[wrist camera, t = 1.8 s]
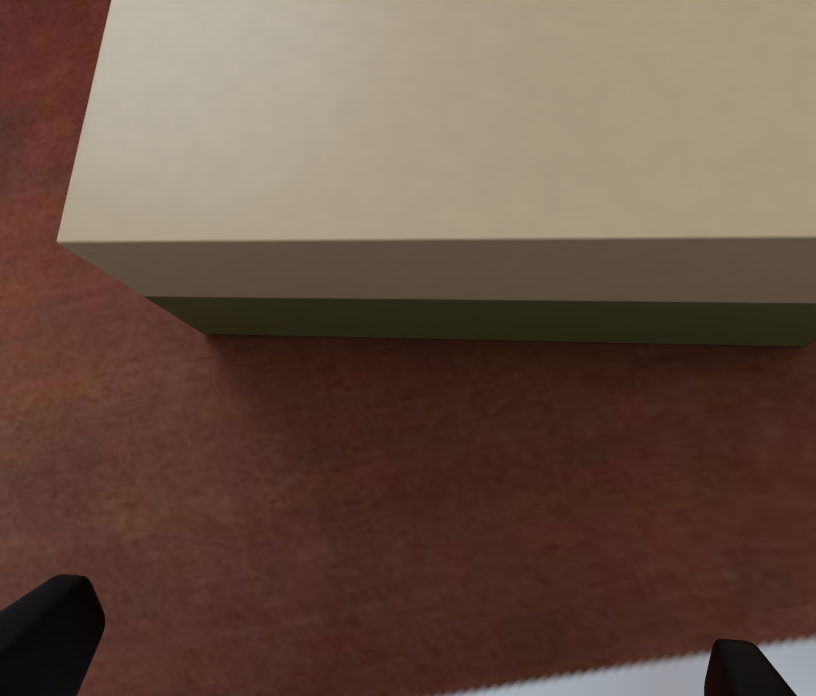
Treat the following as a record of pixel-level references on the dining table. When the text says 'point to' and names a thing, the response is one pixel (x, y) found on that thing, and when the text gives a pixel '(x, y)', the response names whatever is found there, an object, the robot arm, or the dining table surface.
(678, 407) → the dining table surface
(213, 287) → the beige lidded box
